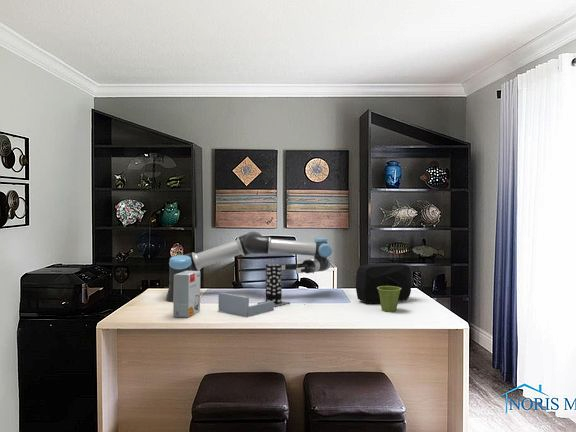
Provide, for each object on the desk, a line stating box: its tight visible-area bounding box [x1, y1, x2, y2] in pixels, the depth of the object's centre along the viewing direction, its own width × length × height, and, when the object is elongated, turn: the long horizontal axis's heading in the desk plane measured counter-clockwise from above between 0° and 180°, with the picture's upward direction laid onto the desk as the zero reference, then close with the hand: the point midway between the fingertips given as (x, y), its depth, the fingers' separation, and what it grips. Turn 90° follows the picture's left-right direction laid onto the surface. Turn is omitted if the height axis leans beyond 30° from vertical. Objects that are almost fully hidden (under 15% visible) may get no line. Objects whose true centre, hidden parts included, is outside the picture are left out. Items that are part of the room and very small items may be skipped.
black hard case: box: [355, 262, 412, 305], centre depth 274 cm, size 30×12×20 cm, turn 114°
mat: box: [257, 300, 290, 308], centre depth 267 cm, size 12×12×1 cm
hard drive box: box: [172, 271, 201, 318], centre depth 243 cm, size 16×8×20 cm, turn 168°
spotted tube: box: [265, 263, 283, 304], centre depth 266 cm, size 8×8×20 cm
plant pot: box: [377, 286, 401, 313], centre depth 253 cm, size 12×12×11 cm
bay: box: [218, 292, 275, 318], centre depth 251 cm, size 19×19×9 cm
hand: (286, 269), depth 274 cm, fingers open, 13 cm apart
